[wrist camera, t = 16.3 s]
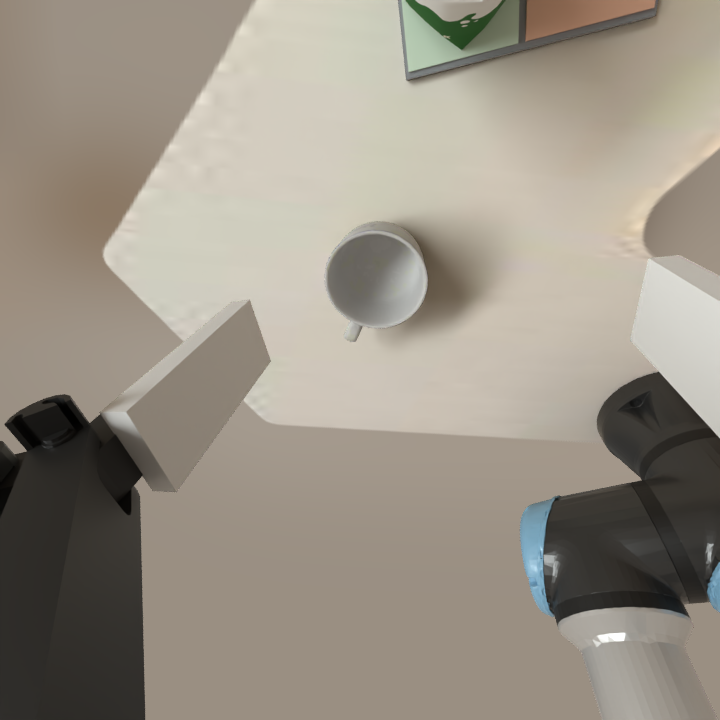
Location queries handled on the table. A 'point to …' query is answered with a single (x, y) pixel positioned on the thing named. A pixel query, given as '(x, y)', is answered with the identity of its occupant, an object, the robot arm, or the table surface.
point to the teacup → (376, 277)
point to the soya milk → (457, 17)
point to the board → (513, 30)
